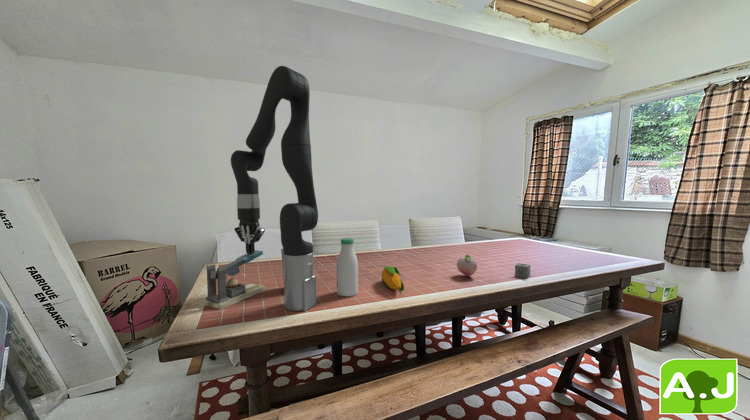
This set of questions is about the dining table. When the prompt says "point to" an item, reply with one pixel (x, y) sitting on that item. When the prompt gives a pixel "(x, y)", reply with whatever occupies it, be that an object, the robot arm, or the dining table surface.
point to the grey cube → (522, 270)
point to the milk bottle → (347, 269)
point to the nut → (232, 283)
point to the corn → (392, 278)
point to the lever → (237, 264)
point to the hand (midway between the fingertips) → (250, 253)
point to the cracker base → (227, 290)
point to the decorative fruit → (467, 265)
